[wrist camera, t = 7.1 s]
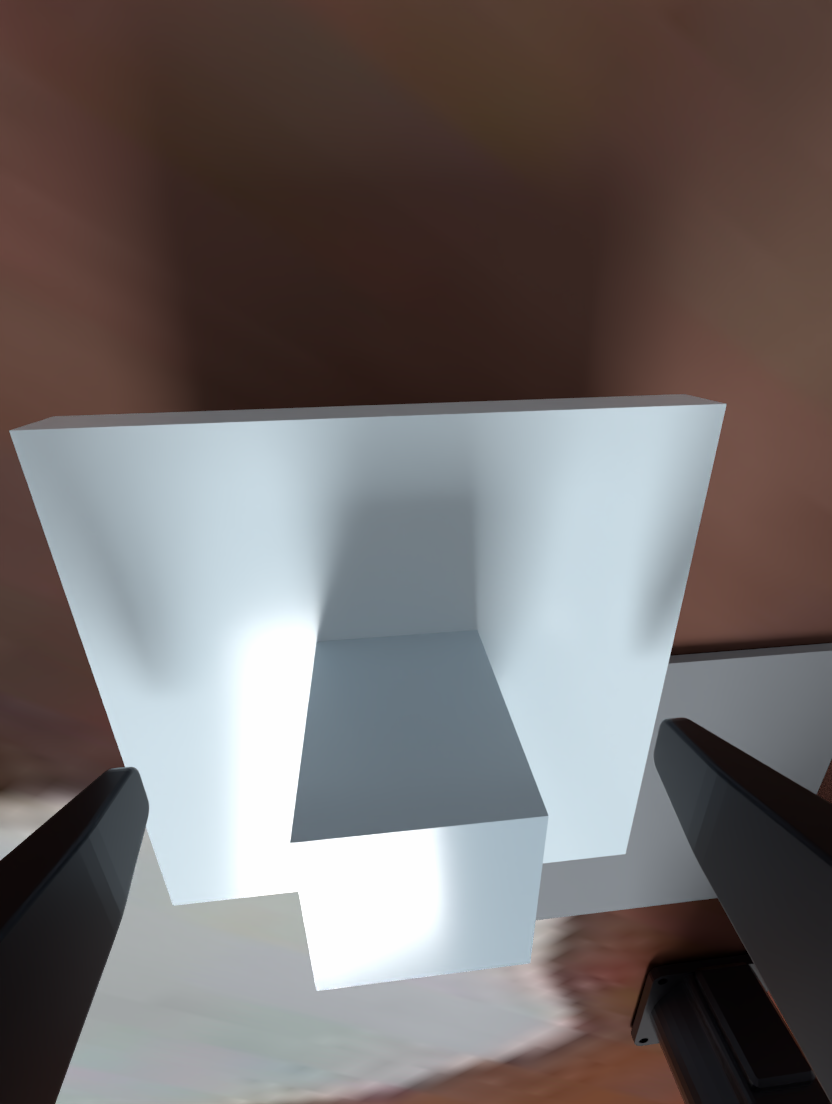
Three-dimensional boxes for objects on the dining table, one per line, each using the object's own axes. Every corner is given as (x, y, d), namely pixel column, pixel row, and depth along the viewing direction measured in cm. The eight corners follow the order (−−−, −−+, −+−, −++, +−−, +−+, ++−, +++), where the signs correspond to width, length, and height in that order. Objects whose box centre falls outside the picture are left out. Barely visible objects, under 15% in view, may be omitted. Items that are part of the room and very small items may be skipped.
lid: (604, 812, 14) (729, 1062, 9) (188, 856, 13) (91, 1161, 8) (684, 394, 9) (1009, 468, 5) (53, 416, 8) (-325, 535, 4)
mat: (768, 881, 23) (775, 890, 23) (485, 915, 22) (487, 926, 22) (869, 640, 18) (879, 646, 17) (500, 669, 17) (503, 677, 16)
